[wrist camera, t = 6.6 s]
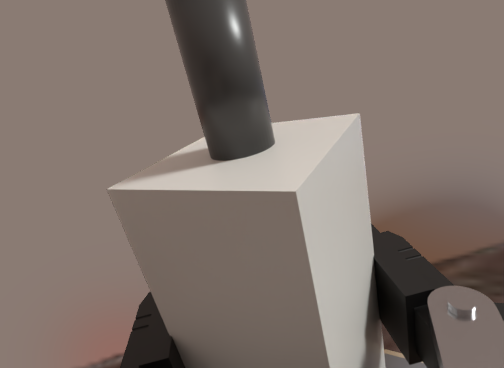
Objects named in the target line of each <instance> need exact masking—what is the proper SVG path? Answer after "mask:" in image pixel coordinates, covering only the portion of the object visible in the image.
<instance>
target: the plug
mask: <svg viewBox="0 0 504 368" xmlns="http://www.w3.org/2000/svg"><path fill="white" fill-rule="evenodd" d="M165 1H166V4H167V8H168V11H169V15H170V18H171V22H172V25H173V28H174V32H175V35H176V39H177V43H178V46H179V49H180V53H181V56H182V60H183V63H184V67H185V70H186V74H187V77H188V81H189V84H190V87H191V91H192V95H193V98H194V101H195V105H196V108H197V112H198V115H199V119H200V122H201V126H202V129H203V133H204V136H205V137H203V138H201V139H199V140H198V141H196V142H194V143H192V144H190V145H188V146H186V147H184V148H183V149H181V150H179V151H177V152H175V153H174V154H171V155H170V156H168V157H166V158H164V159H162V160H160V161H159V162H156V163H155V164H153V165H151V166H149V167H147V168H145V169H143V170H142V171H140V172H138V173H136V174H134V175H132V176H130V177H128V178H127V179H125V180H123V181H121V182H119V183H117V184H115V185H114V186H112V187H110V188H108V189H107V192H108V194H109V196H110V199H111V201H112V203H113V206H114V208H115V210H116V212H117V215H118V217H119V220H120V222H121V224H122V226H123V229H124V231H125V233H126V235H127V238H128V240H129V243H130V245H131V247H132V249H133V252H134V254H135V256H136V259H137V261H138V263H139V266H140V268H141V270H142V273H143V275H144V277H145V280H146V282H147V284H148V287H149V289H150V291H151V294H152V296H153V298H154V301H155V303H156V305H157V308H158V310H159V312H160V315H161V317H162V319H163V322H164V324H165V326H166V328H167V331H168V333H169V335H170V336H172V338H173V340H174V342H175V345H176V347H177V349H178V352H179V354H180V356H181V359H182V361H183V363H184V366H185V368H386V366H385V356H384V347H383V337H382V327H381V320H380V316H379V307H378V297H377V287H376V277H375V268H374V258H373V257H374V248H373V238H372V229H371V219H370V210H369V200H368V189H367V179H366V170H365V160H364V150H363V140H362V131H361V120H360V114H359V113H358V114H349V115H340V116H331V117H322V118H313V119H304V120H296V121H286V122H278V123H271V119H270V114H269V110H268V105H267V100H266V95H265V90H264V85H263V80H262V76H261V71H260V66H259V61H258V56H257V51H256V46H255V41H254V36H253V32H252V27H251V22H250V17H249V12H248V7H247V3H246V0H165Z"/></svg>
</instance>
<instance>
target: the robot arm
mask: <svg viewBox="0 0 504 368" xmlns="http://www.w3.org/2000/svg"><path fill="white" fill-rule="evenodd" d="M371 229H372V238H373V248H374V257H373V258H374V268H375V277H376V287H377V297H378V307H379V316H380V320H381V321H382V323H383V324H384V326H385V328H386V329H387V331H388V332H389V334H390V335H391V337H392V338H393V340H394V342H395V343H396V345H397V346H398V348H399V349H400V351H401V352H402V354H403V356H404V357H405V359H406V360H407V362H408V363H409V365H412V364H415V363H419V362H423V363H424V364H425V365H426V367H427V368H504V303H493V302H492V301H491V300H490V299H489V298H488V297H487V296H485V295H484V294H482V293H480V292H478V291H476V290H473V289H470V288H466V287H461V286H454V285H453V284H452V283H451V282H450V281H449V280H448V279H447V278H446V277H445V276H443V275H442V274H441V273H440V272H439V271H438V270H437V269H436V268H435V267H434V266H433V265H432V264H431V263H430V262H428V261H427V260H426V259H425V258H424V257H422V256H421V254H420V253H419V252H418V251H417V250H415V249H413V247H412V246H411V245H410V244H409V243H408V242H407V241H406V240H405V239H404V238H403V237H400V236H398V235H396V234H394V233H391V232H389V231H386V232H382V233H380V232H379V231H378V230H377V229H376V228H375V227H374V226H373V225H372V224H371ZM120 368H185V366H184V363H183V361H182V359H181V356H180V354H179V352H178V349H177V347H176V345H175V342H174V340H173V338H172V336H170V335H169V333H168V331H167V328H166V326H165V324H164V322H163V319H162V317H161V315H160V312H159V310H158V308H157V305H156V303H155V301H154V298H153V296H152V294H151V292H149V293H148V295H147V296H146V297H145V299H144V300H143V301H142V303H141V304H140V305H139V309H138V312H137V315H136V320H135V322H134V325H133V328H132V332H131V334H130V338H129V341H128V344H127V347H126V350H125V353H124V357H123V360H122V363H121V366H120Z"/></svg>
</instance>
